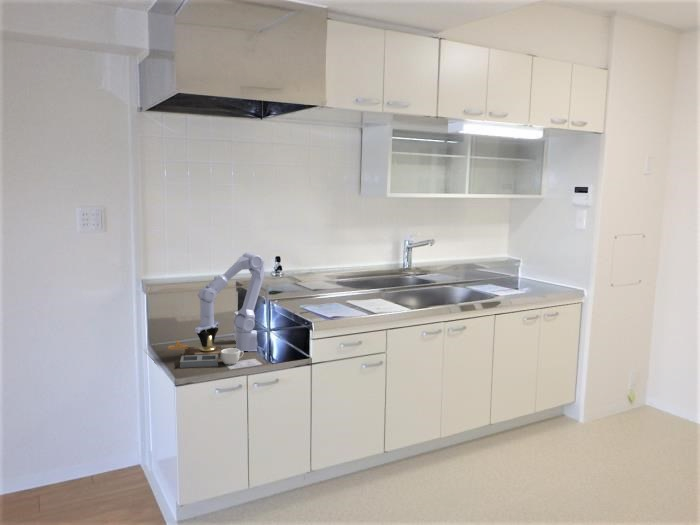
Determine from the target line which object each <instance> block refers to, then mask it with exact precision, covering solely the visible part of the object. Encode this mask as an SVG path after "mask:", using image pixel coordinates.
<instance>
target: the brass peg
mask: <svg viewBox="0 0 700 525" xmlns="http://www.w3.org/2000/svg"><path fill="white" fill-rule="evenodd" d="M215 346H216V345H213V344H212V334H209V335H208V339H207V347H202V345H201V346H199V347H200V348H199V350H200V351H203V352H212V351H214V350H216V347H215Z"/></svg>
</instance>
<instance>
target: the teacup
mask: <svg viewBox="0 0 700 525" xmlns="http://www.w3.org/2000/svg"><path fill="white" fill-rule="evenodd" d="M241 353H242V355H241ZM244 354H245V353H244V352H243V351H240V350H239V349H236V348H235V347H234V348H233V347H229V348H224V349H221V358H220V360H221V361H222V363H223V364H225V365H227V364H233V365H236V364H237V363H238V362H239V360H240V359H241V358H243V356H244ZM240 355H241V356H240Z"/></svg>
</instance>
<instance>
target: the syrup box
mask: <svg viewBox="0 0 700 525" xmlns="http://www.w3.org/2000/svg"><path fill="white" fill-rule="evenodd" d="M237 314H238V311H234V312H233V319H234V318H235V317H236V316H237ZM233 335H234V336H233V339H234V340H235V341H236V326H235V325H234V324H233ZM235 341H234V342H235Z"/></svg>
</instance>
